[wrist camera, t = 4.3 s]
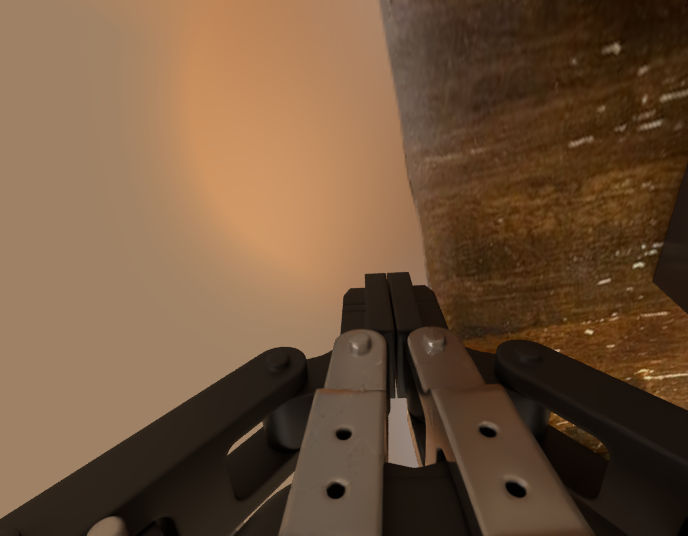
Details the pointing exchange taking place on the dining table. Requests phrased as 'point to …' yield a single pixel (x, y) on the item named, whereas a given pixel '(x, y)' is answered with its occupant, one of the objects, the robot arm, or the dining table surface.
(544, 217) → the dining table surface
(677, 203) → the oven door
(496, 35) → the dining table surface
